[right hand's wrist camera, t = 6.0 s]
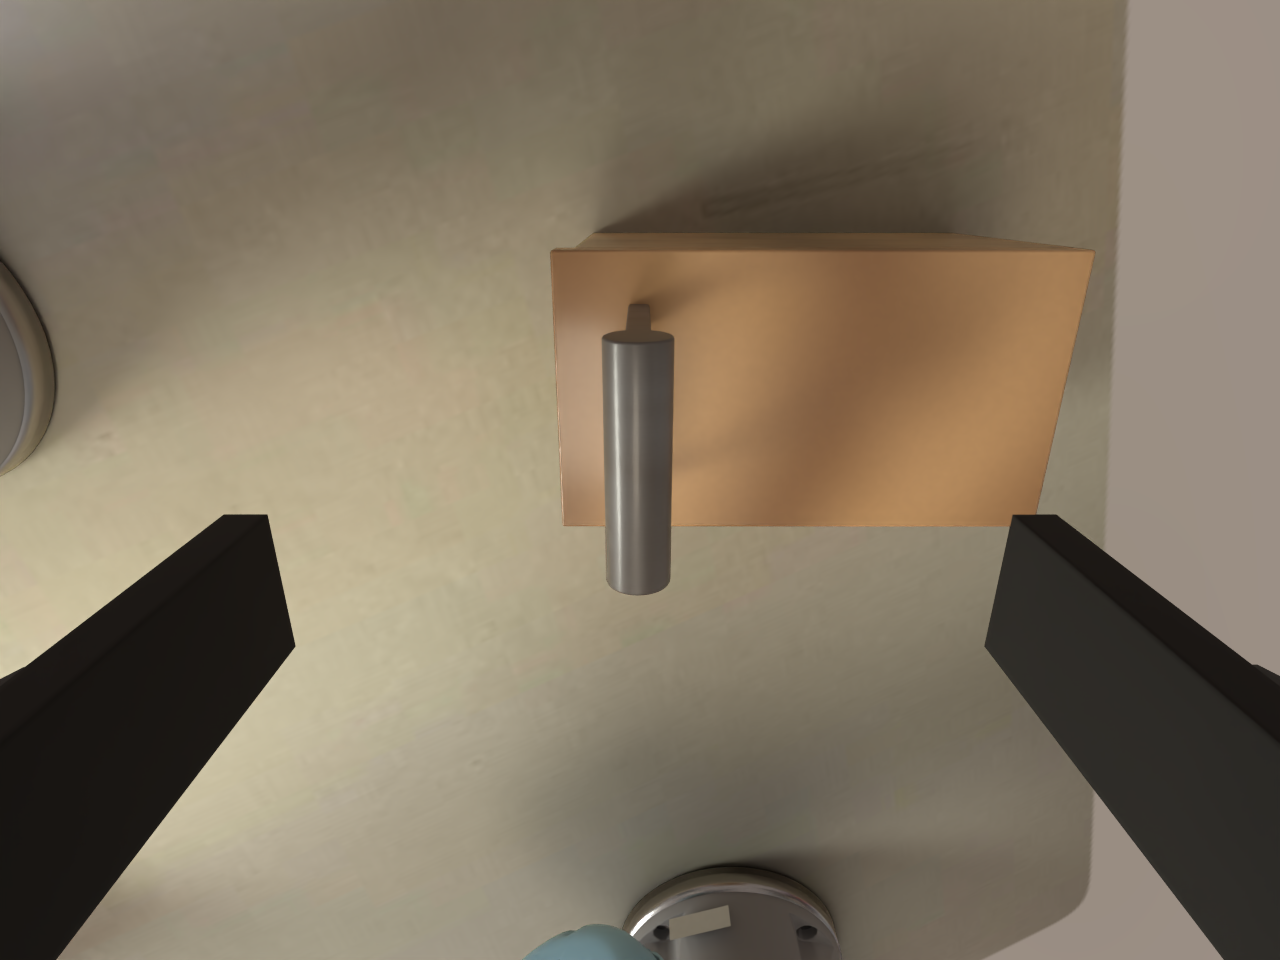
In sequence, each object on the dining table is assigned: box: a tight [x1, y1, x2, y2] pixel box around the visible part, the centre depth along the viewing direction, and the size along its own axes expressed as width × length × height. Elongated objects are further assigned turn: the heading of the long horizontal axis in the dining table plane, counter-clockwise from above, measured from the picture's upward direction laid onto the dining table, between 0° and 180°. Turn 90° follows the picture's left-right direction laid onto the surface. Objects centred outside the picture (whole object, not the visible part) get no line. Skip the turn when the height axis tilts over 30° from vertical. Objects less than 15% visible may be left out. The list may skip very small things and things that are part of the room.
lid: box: [550, 248, 1095, 595], centre depth 21 cm, size 17×10×8 cm, turn 90°
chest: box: [575, 233, 1073, 248], centre depth 30 cm, size 17×10×10 cm, turn 90°
